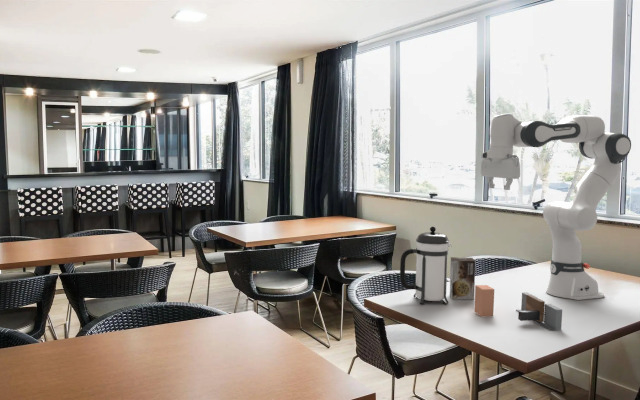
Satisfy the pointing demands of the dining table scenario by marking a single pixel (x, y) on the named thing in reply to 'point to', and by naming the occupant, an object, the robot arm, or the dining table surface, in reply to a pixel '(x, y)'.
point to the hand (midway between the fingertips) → (499, 189)
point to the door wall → (546, 315)
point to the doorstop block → (484, 300)
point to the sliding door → (533, 309)
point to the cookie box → (462, 278)
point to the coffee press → (429, 266)
